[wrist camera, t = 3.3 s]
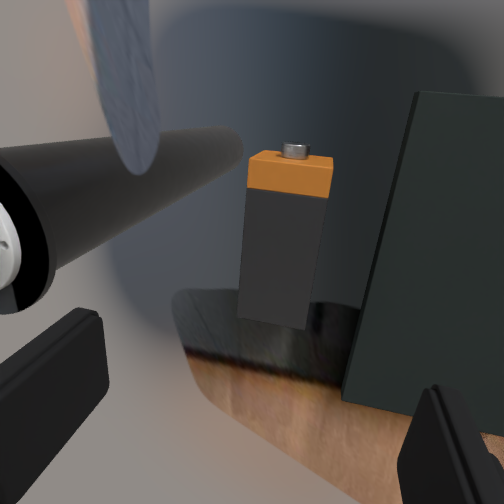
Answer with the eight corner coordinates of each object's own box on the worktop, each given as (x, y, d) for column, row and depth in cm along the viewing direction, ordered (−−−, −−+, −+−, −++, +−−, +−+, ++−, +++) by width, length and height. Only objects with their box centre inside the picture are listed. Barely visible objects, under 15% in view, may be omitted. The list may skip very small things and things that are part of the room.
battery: (250, 285, 26) (236, 317, 22) (264, 136, 21) (250, 142, 17) (308, 296, 25) (304, 330, 21) (335, 144, 21) (336, 151, 17)
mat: (340, 389, 28) (341, 400, 26) (414, 92, 19) (419, 90, 18) (501, 424, 26) (509, 438, 24) (666, 111, 17) (689, 111, 16)
